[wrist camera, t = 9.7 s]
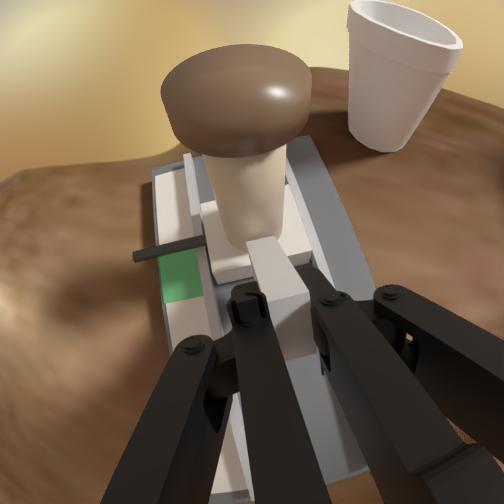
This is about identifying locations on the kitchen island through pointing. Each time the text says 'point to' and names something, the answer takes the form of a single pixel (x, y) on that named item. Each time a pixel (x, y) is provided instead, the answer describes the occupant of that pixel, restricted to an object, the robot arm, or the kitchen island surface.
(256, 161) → the tuning slider
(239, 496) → the board
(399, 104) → the foam cup
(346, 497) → the kitchen island surface
